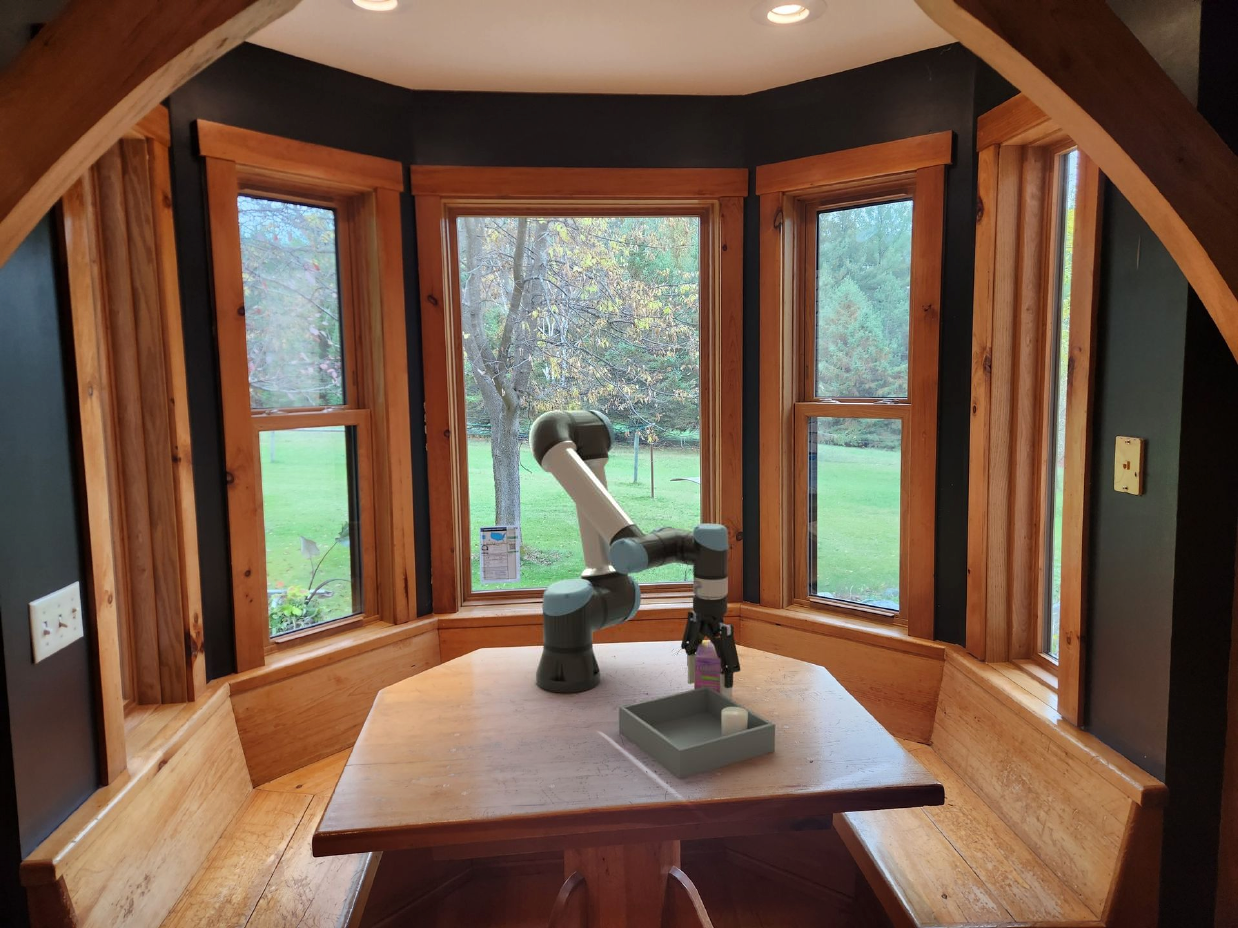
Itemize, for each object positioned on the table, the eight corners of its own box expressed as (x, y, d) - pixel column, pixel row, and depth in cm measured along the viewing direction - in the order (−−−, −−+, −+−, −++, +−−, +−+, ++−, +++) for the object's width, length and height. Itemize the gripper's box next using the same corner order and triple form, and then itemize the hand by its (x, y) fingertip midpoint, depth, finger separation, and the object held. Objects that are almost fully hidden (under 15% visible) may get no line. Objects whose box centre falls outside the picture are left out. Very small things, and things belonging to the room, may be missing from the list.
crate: (619, 735, 155) (619, 706, 155) (707, 713, 166) (707, 686, 165) (679, 783, 137) (679, 750, 136) (774, 754, 147) (775, 724, 147)
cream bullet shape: (716, 739, 152) (716, 709, 151) (736, 733, 154) (736, 704, 154) (731, 749, 148) (732, 719, 147) (752, 743, 150) (753, 713, 150)
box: (720, 711, 167) (720, 658, 166) (693, 709, 168) (694, 656, 167) (723, 693, 177) (724, 642, 176) (698, 691, 178) (698, 641, 177)
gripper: (666, 585, 179) (665, 677, 181) (729, 610, 158) (728, 714, 160) (693, 581, 182) (692, 671, 184) (758, 605, 162) (756, 706, 164)
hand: (709, 691), depth 172 cm, fingers closed on box, 11 cm apart
